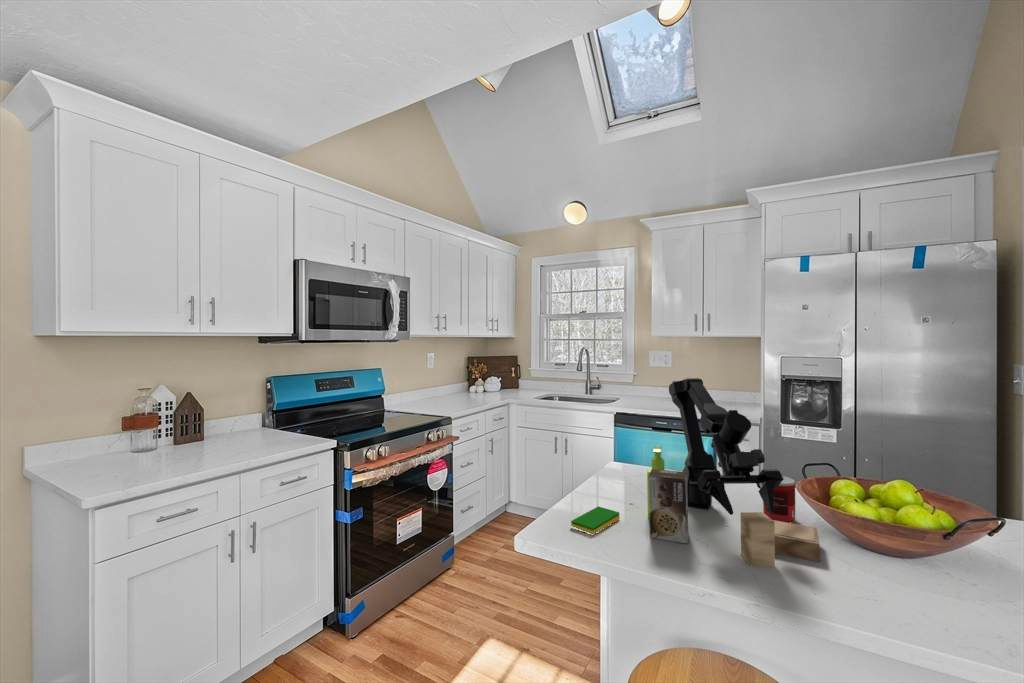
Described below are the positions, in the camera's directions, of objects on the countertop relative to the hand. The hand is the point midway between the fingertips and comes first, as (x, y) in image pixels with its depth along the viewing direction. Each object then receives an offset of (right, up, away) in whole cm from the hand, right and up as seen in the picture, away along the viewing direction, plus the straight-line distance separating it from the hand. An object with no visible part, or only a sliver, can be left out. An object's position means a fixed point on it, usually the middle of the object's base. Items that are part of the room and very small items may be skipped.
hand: (752, 514), depth 103 cm
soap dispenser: (-14, -10, +22) cm, 28 cm away
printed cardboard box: (-15, -10, +11) cm, 21 cm away
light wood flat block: (+12, -9, +4) cm, 16 cm away
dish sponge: (-33, -11, +19) cm, 39 cm away
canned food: (+19, -9, +21) cm, 29 cm away
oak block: (0, -10, -2) cm, 10 cm away
